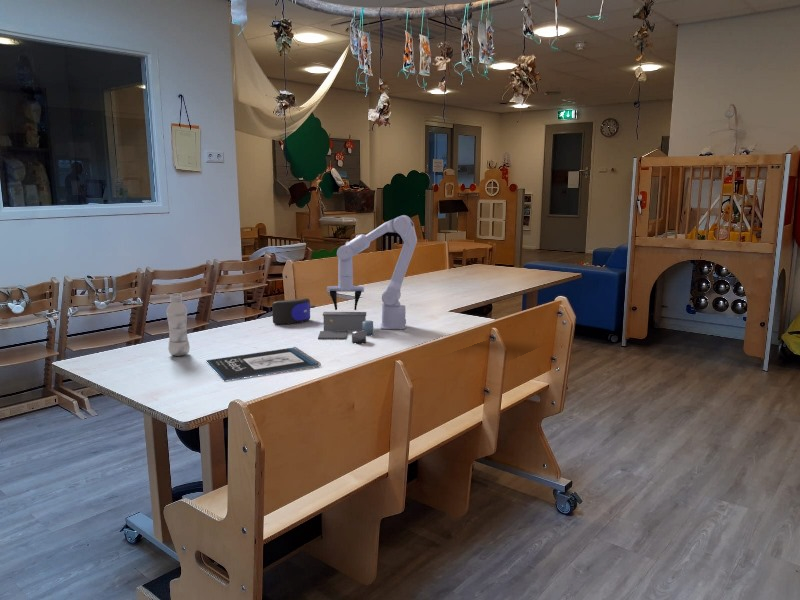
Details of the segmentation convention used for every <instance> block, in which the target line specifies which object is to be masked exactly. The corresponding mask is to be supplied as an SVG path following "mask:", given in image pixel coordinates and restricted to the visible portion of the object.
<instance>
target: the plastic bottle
mask: <svg viewBox="0 0 800 600" xmlns="http://www.w3.org/2000/svg"><path fill="white" fill-rule="evenodd" d="M182 301H183V295H182V294H181V293H172V294H169V305H168V306H167V308H166V310H165V313H166V318H167V323H168V330H169V335H168V337H169V340H168V341H169V342H168V352H169V354H170V355H171V356H173V357H182V356H185V355H188V354H189V353H190V342H189V338H188V333H187V332H188V331H187V319H188V309H187V307H186V304H184V303H183V302H182Z"/></svg>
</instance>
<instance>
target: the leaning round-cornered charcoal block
mask: <svg viewBox="0 0 800 600" xmlns="http://www.w3.org/2000/svg"><path fill="white" fill-rule="evenodd" d="M271 310H272V323H273V324H274V325H275V326H285V325H287V324H288V325H297V324H301V323H302V322H303V323H306V322H308V321H309V320H310V319H311V301H310V299H309V298H295V299H285V300H284V299H283V300H277V301H274V302H272V309H271Z"/></svg>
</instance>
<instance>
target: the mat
mask: <svg viewBox="0 0 800 600" xmlns="http://www.w3.org/2000/svg"><path fill="white" fill-rule="evenodd" d="M346 334H347V335H348V331H324V330H320V332H319V334H318V337H317V339H318V340H346V339H347V335H346Z"/></svg>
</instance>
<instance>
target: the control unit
mask: <svg viewBox="0 0 800 600" xmlns="http://www.w3.org/2000/svg"><path fill="white" fill-rule="evenodd" d="M322 317H323V331H347V332H352V331H354V330H363V321H367V319H366V317H367V311H323V312H322Z"/></svg>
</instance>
